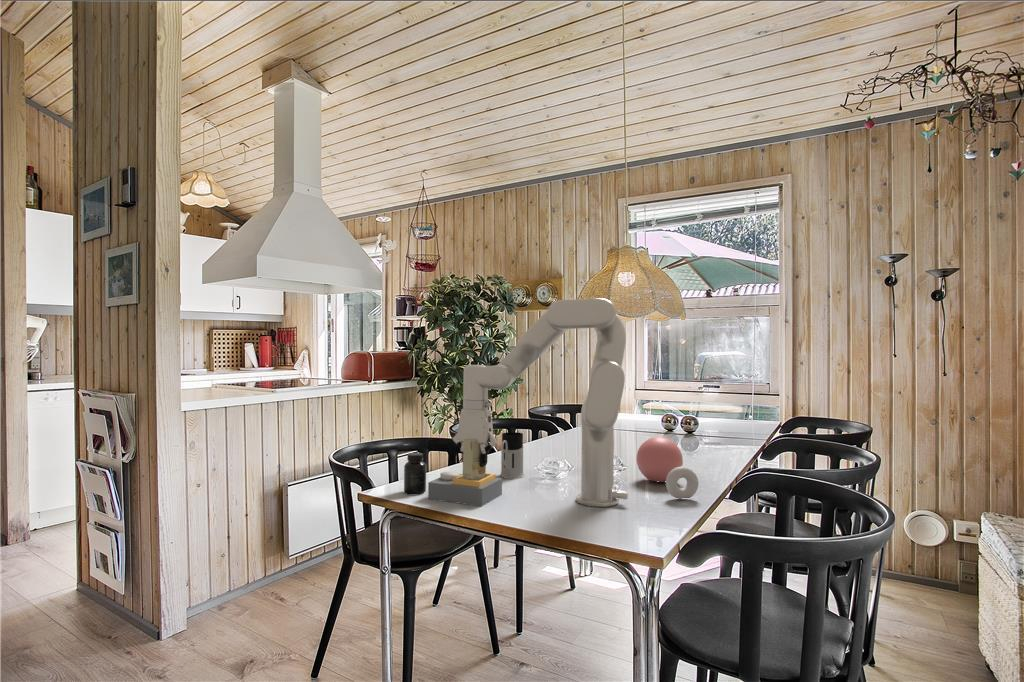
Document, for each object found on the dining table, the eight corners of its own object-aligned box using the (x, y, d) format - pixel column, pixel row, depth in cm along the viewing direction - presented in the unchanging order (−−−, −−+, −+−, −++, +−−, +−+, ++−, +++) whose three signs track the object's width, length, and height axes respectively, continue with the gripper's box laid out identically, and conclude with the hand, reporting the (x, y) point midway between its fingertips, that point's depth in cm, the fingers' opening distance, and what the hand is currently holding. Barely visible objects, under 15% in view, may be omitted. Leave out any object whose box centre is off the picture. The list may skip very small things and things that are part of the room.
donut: (695, 497, 167) (695, 465, 167) (700, 500, 163) (700, 467, 164) (664, 498, 166) (664, 465, 166) (668, 501, 163) (668, 467, 163)
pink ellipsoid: (678, 475, 197) (678, 432, 198) (685, 488, 178) (685, 441, 178) (635, 473, 200) (635, 431, 201) (637, 486, 181) (637, 440, 181)
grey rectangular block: (501, 494, 169) (502, 473, 169) (481, 506, 156) (482, 483, 156) (451, 488, 176) (451, 468, 176) (428, 499, 163) (428, 477, 163)
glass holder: (527, 474, 197) (528, 432, 197) (513, 483, 184) (514, 438, 184) (505, 472, 200) (505, 431, 200) (490, 480, 187) (490, 437, 187)
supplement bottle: (405, 489, 174) (405, 452, 174) (426, 489, 174) (426, 451, 175) (402, 495, 167) (403, 456, 167) (425, 494, 168) (425, 455, 168)
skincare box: (472, 482, 161) (473, 441, 161) (461, 480, 164) (462, 439, 164) (486, 478, 166) (487, 438, 166) (475, 476, 169) (476, 436, 169)
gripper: (506, 405, 165) (505, 465, 165) (456, 402, 172) (455, 460, 172) (495, 408, 158) (494, 470, 158) (444, 405, 165) (443, 464, 165)
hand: (474, 464), depth 165 cm, fingers closed on skincare box, 5 cm apart
